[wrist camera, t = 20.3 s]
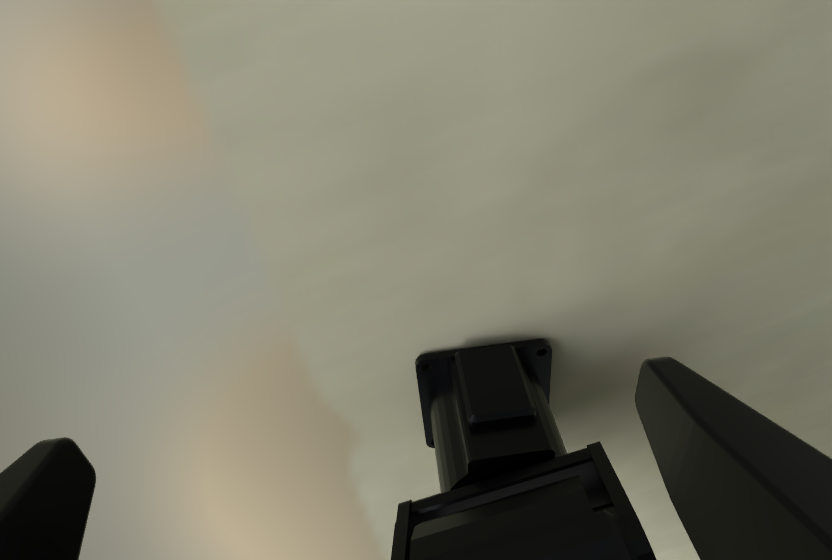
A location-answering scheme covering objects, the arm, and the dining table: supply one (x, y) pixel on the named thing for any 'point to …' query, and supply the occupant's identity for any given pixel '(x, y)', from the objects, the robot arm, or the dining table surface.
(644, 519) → the dining table surface
